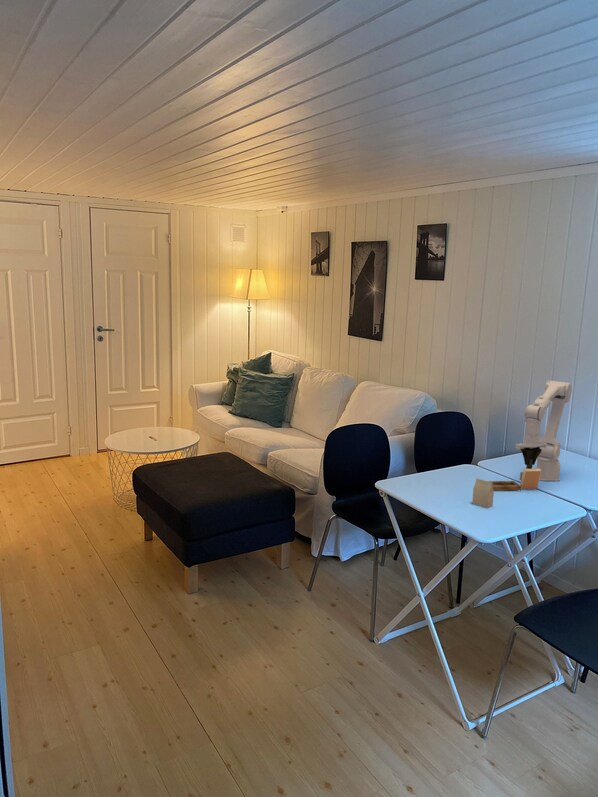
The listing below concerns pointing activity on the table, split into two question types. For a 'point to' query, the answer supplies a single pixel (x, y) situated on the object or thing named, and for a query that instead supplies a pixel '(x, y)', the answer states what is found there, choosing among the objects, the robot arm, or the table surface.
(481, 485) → the tea bag
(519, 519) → the table surface
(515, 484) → the frame
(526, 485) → the tile
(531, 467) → the turner
